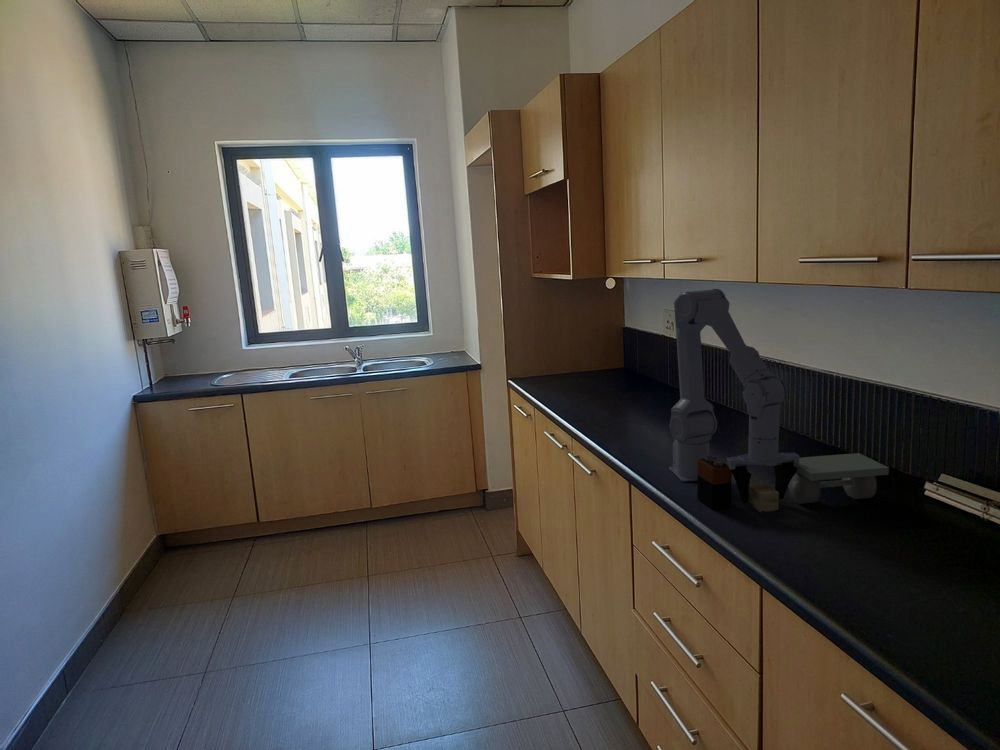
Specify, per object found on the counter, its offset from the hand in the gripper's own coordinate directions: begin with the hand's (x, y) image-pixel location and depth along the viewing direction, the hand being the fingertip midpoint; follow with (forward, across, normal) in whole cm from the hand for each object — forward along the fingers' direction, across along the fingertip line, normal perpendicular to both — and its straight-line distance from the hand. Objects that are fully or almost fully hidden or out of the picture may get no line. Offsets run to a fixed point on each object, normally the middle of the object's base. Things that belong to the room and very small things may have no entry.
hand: (761, 499), depth 133 cm
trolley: (+1, +15, -1) cm, 15 cm away
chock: (+2, 0, 0) cm, 2 cm away
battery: (+2, -9, +3) cm, 10 cm away
